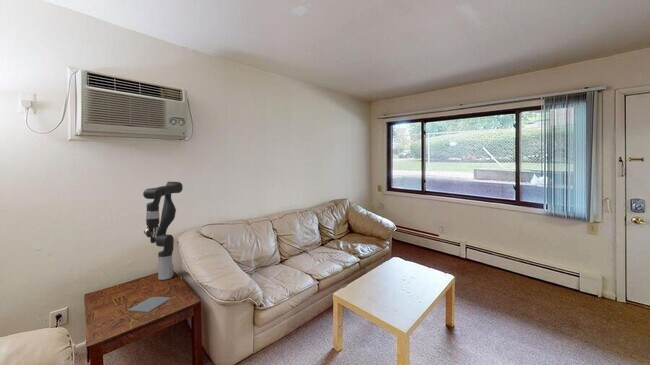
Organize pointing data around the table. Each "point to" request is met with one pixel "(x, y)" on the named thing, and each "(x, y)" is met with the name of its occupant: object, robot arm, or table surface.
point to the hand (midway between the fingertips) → (153, 242)
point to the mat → (149, 304)
